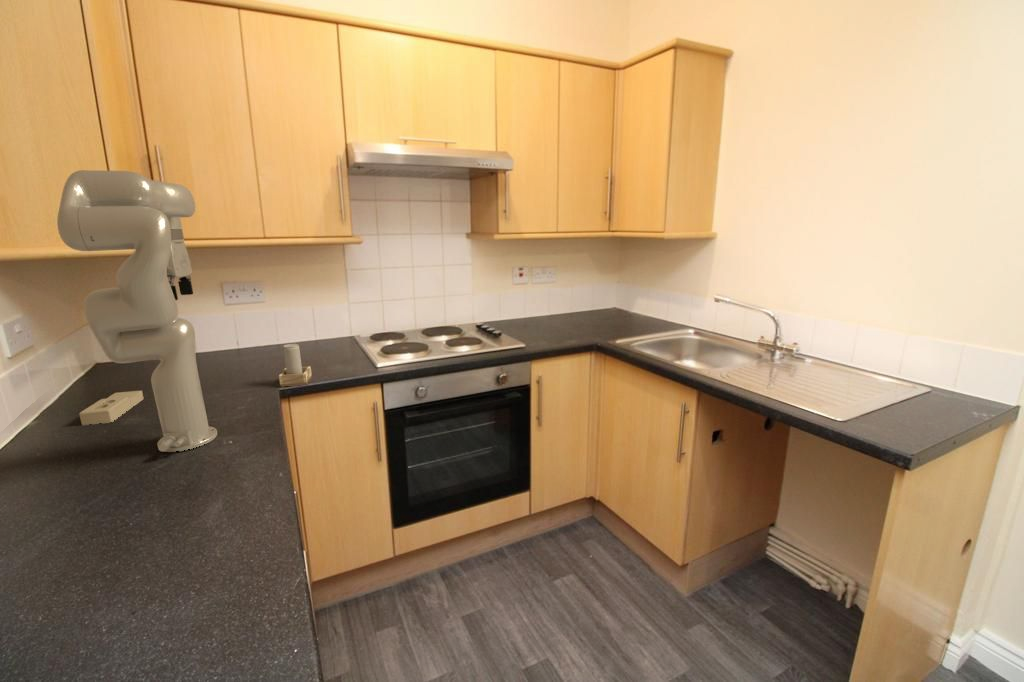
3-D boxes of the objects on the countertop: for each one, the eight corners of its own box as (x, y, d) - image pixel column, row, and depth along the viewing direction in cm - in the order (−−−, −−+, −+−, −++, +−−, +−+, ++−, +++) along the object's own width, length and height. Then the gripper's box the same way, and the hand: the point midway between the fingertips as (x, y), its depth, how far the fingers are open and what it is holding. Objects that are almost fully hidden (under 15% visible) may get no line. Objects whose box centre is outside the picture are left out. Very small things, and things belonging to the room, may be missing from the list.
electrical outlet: (141, 387, 149) (108, 410, 132) (144, 400, 150) (112, 423, 133) (114, 389, 148) (78, 412, 131) (117, 402, 149) (81, 426, 132)
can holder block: (307, 385, 159) (305, 373, 158) (280, 387, 158) (278, 375, 157) (312, 377, 167) (310, 366, 166) (286, 379, 166) (285, 368, 165)
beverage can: (284, 381, 161) (279, 346, 157) (295, 376, 165) (290, 342, 162) (295, 382, 159) (290, 348, 156) (306, 378, 163) (302, 344, 160)
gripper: (167, 237, 126) (180, 302, 131) (195, 234, 143) (206, 292, 147) (135, 238, 125) (149, 303, 129) (167, 235, 141) (178, 293, 146)
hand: (179, 297), depth 138 cm, fingers open, 9 cm apart
